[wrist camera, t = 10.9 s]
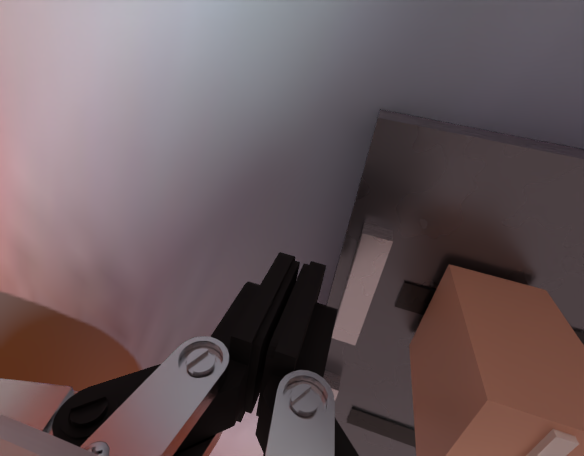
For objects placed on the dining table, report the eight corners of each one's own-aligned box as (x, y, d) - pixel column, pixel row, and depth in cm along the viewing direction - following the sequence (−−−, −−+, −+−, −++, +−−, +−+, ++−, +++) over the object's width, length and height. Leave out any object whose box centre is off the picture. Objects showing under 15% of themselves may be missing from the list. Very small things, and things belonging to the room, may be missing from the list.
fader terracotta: (448, 264, 11) (489, 406, 6) (545, 289, 10) (665, 464, 6) (409, 345, 13) (419, 497, 8) (489, 370, 12) (545, 546, 8)
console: (379, 109, 11) (377, 122, 9) (1285, 288, 8) (1685, 389, 5) (294, 423, 21) (281, 470, 19) (675, 566, 18) (720, 645, 15)
